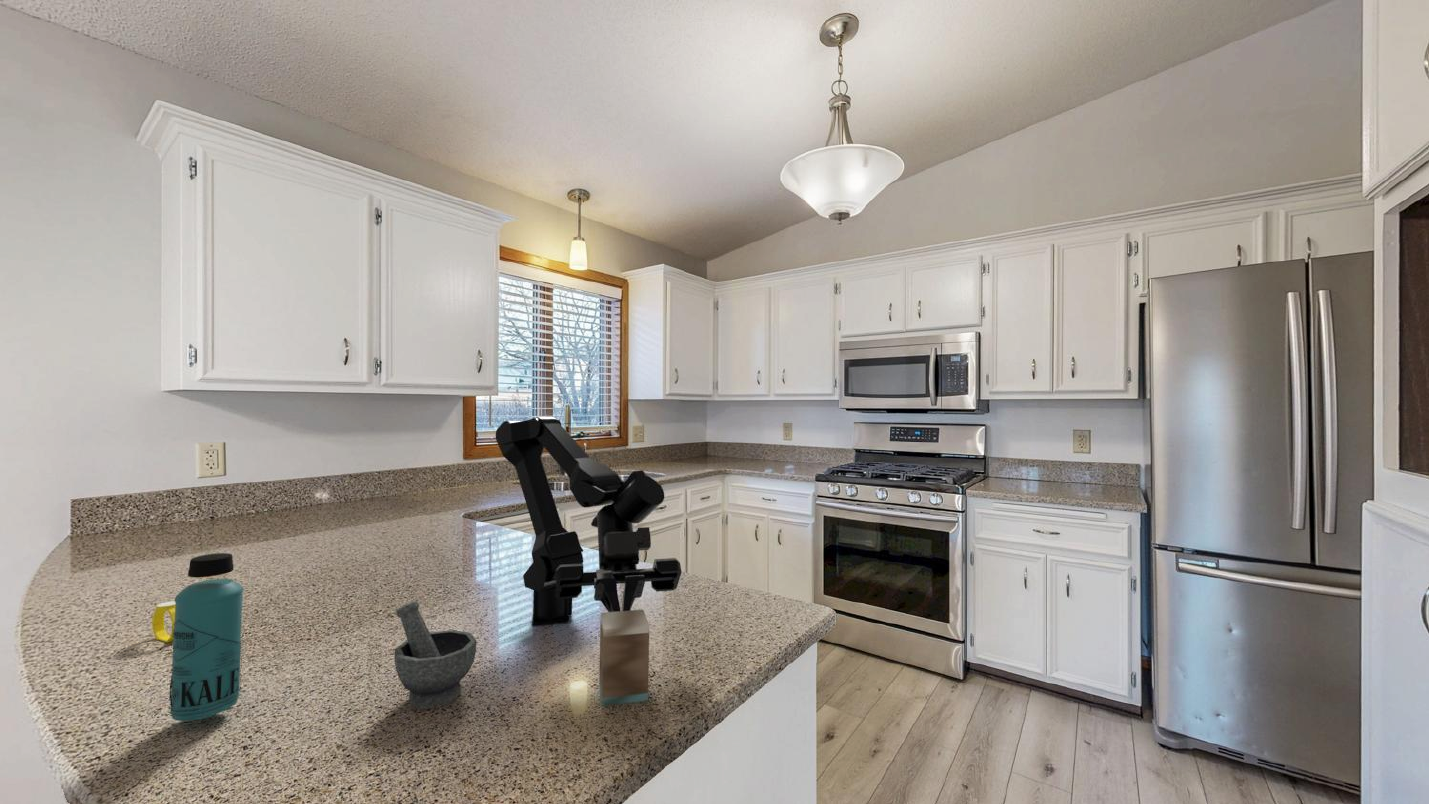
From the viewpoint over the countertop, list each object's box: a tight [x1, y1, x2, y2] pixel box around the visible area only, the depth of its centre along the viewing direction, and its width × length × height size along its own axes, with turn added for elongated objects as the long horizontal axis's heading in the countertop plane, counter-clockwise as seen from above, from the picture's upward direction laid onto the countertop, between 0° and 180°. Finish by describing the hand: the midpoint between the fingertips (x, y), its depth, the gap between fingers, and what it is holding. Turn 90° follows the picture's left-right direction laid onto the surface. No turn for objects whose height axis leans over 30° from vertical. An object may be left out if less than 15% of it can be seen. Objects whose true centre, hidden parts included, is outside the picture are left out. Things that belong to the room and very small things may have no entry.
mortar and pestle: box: [394, 601, 477, 710], centre depth 74 cm, size 11×9×12 cm
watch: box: [151, 600, 175, 644], centre depth 90 cm, size 6×3×6 cm, turn 69°
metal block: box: [598, 609, 650, 707], centre depth 76 cm, size 6×6×10 cm
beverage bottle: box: [168, 552, 244, 722], centre depth 68 cm, size 6×7×20 cm
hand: (622, 632), depth 80 cm, fingers closed
